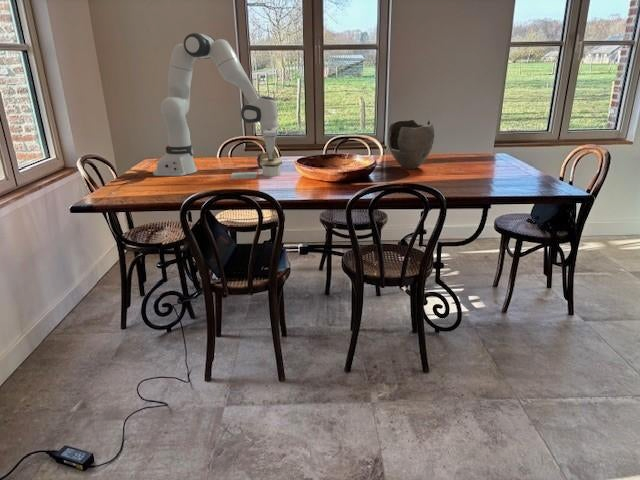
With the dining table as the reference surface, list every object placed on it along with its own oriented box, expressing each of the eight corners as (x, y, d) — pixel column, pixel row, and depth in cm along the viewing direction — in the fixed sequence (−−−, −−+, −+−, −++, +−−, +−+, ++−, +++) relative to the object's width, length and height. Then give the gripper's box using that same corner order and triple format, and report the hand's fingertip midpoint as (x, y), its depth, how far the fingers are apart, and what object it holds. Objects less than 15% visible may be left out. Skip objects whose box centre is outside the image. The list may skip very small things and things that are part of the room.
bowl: (262, 177, 234) (262, 167, 232) (263, 173, 243) (262, 163, 241) (280, 177, 235) (280, 166, 233) (280, 172, 244) (279, 162, 242)
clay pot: (429, 163, 260) (432, 118, 251) (434, 174, 238) (438, 124, 229) (386, 163, 262) (388, 118, 253) (387, 173, 240) (389, 124, 231)
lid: (260, 165, 231) (259, 155, 229) (260, 160, 241) (259, 150, 239) (282, 164, 232) (281, 154, 230) (281, 159, 242) (281, 150, 240)
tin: (260, 169, 251) (259, 154, 248) (256, 169, 253) (255, 153, 250) (279, 164, 262) (278, 150, 259) (275, 164, 264) (274, 149, 261)
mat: (230, 179, 231) (230, 178, 231) (232, 173, 243) (232, 172, 243) (256, 178, 232) (256, 178, 232) (257, 172, 244) (257, 172, 244)
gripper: (263, 127, 240) (264, 154, 245) (262, 133, 221) (264, 162, 226) (275, 127, 241) (276, 153, 246) (276, 133, 222) (277, 162, 227)
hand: (270, 158), depth 236 cm, fingers closed on lid, 3 cm apart
